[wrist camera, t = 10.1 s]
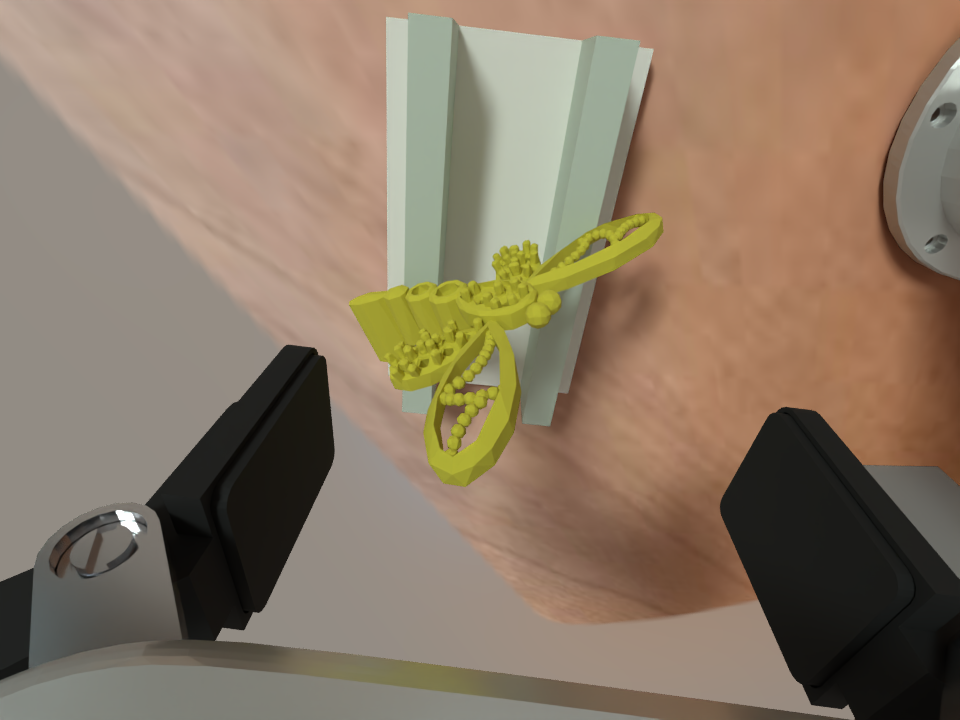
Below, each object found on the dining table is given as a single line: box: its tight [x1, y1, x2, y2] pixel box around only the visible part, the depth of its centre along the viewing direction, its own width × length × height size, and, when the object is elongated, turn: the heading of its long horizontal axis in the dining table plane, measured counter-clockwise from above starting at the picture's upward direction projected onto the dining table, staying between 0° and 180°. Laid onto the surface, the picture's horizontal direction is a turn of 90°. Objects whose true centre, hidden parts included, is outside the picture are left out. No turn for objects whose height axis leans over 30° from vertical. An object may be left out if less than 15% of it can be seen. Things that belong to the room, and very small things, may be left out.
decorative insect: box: [349, 213, 663, 487], centre depth 17 cm, size 13×3×10 cm
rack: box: [386, 13, 654, 426], centre depth 21 cm, size 10×16×4 cm, turn 174°
